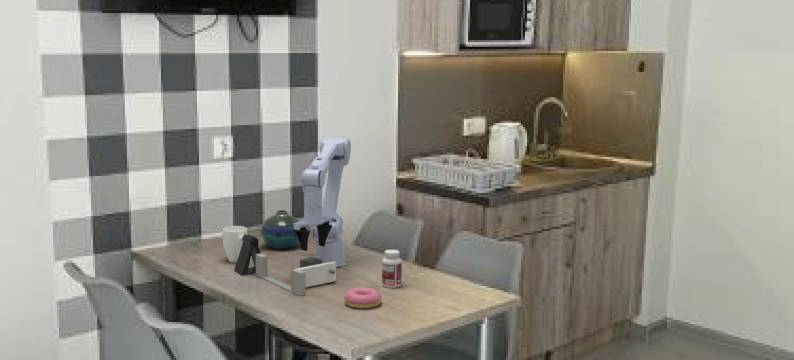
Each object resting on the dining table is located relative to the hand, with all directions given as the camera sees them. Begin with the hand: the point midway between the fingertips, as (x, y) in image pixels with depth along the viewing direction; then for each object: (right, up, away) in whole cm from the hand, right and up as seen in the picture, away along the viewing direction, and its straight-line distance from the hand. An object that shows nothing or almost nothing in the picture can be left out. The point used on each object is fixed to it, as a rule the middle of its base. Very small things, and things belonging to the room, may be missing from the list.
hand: (313, 248), depth 258 cm
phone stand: (-21, -8, +8) cm, 24 cm away
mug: (-27, -6, +18) cm, 34 cm away
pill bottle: (+25, -12, -4) cm, 28 cm away
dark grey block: (0, -10, +1) cm, 10 cm away
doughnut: (+17, -15, -22) cm, 31 cm away
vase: (-16, -3, +39) cm, 42 cm away
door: (+2, -11, -7) cm, 13 cm away
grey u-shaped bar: (-10, -11, -6) cm, 16 cm away
